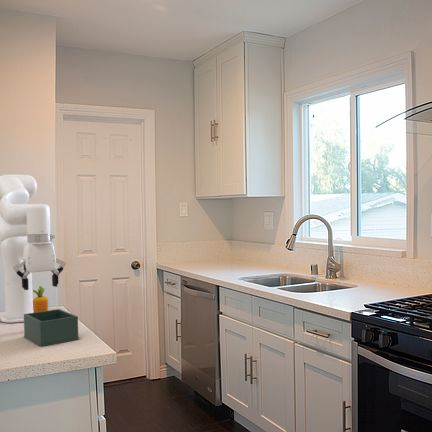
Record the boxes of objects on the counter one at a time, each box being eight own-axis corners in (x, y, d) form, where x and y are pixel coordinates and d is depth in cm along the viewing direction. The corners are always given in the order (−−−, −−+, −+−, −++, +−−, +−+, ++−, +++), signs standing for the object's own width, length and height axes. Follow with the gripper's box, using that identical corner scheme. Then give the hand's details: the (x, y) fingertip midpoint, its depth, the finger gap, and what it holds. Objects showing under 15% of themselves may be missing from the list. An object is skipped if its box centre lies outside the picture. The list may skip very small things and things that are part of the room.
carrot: (43, 330, 187) (41, 287, 187) (30, 330, 188) (29, 287, 188) (52, 327, 192) (50, 285, 192) (39, 326, 193) (38, 285, 193)
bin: (24, 336, 179) (23, 314, 179) (60, 330, 187) (59, 309, 187) (40, 346, 167) (40, 322, 167) (78, 339, 175) (77, 316, 174)
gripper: (60, 237, 198) (62, 284, 198) (9, 240, 186) (10, 289, 186) (68, 238, 192) (69, 286, 192) (15, 241, 181) (17, 292, 181)
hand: (40, 288), depth 189 cm, fingers open, 9 cm apart
